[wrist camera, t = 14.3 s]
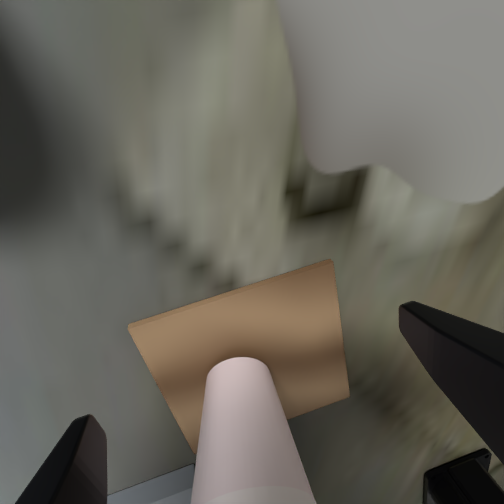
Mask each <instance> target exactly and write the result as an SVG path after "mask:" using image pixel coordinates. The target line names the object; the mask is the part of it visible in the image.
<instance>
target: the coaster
mask: <svg viewBox="0 0 504 504" xmlns="http://www.w3.org/2000/svg"><path fill="white" fill-rule="evenodd" d="M128 331H129V332H130V334H131V336H132V338H133V340H134V342H135V344H136V346H137V347H138V349H139V351H140V353H141V355H142V357H143V359H144V361H145V363H146V364H147V366H148V368H149V370H150V372H151V374H152V376H153V378H154V379H155V381H156V383H157V385H158V387H159V389H160V391H161V393H162V395H163V396H164V398H165V400H166V402H167V404H168V406H169V408H170V410H171V411H172V413H173V415H174V417H175V419H176V421H177V423H178V425H179V427H180V428H181V430H182V432H183V434H184V436H185V438H186V440H187V442H188V444H189V445H190V447H191V449H192V451H193V453H194V454H197V450H198V442H199V434H200V426H201V418H202V411H203V403H204V395H205V387H206V379H207V375H208V373H209V372H210V370H211V369H212V368H213V367H214V366H216V365H217V364H219V363H220V362H222V361H225V360H227V359H231V358H236V357H249V358H254V359H257V360H259V361H261V362H263V363H264V364H265V365H266V366H267V367H268V369H269V371H270V374H271V377H272V380H273V383H274V386H275V388H276V391H277V394H278V397H279V400H280V403H281V405H282V408H283V411H284V414H285V417H286V420H289V419H291V418H294V417H297V416H299V415H302V414H305V413H308V412H310V411H313V410H316V409H318V408H321V407H324V406H327V405H329V404H332V403H335V402H337V401H340V400H343V399H345V398H348V397H350V392H349V384H348V376H347V368H346V360H345V352H344V344H343V336H342V328H341V320H340V312H339V304H338V296H337V288H336V280H335V272H334V264H333V261H332V260H331V259H328V260H325V261H322V262H319V263H316V264H312V265H309V266H306V267H303V268H300V269H297V270H294V271H291V272H288V273H285V274H282V275H279V276H276V277H272V278H269V279H266V280H263V281H260V282H257V283H254V284H251V285H248V286H245V287H242V288H239V289H235V290H232V291H229V292H226V293H223V294H220V295H217V296H214V297H211V298H208V299H205V300H202V301H199V302H195V303H192V304H189V305H186V306H183V307H180V308H177V309H174V310H171V311H168V312H165V313H162V314H159V315H155V316H152V317H149V318H146V319H143V320H140V321H137V322H134V323H131V324H128Z"/></svg>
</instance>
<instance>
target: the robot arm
mask: <svg viewBox="0 0 504 504" xmlns="http://www.w3.org/2000/svg"><path fill="white" fill-rule="evenodd" d="M399 328H400V331H401V333H402V335H403V336H404V338H405V339H406V341H407V342H408V344H409V345H410V347H411V348H412V350H413V351H414V353H415V354H416V356H417V357H418V359H419V360H420V362H421V363H422V365H423V366H424V368H425V369H426V370H427V372H428V373H429V375H430V376H431V378H432V379H433V380H434V381H435V383H436V384H437V385H438V386H439V388H440V389H441V390H442V391H443V392H444V394H445V395H446V396H447V397H448V398H449V400H450V401H451V402H452V403H453V404H454V406H455V407H456V408H457V409H458V410H459V412H460V413H461V414H462V415H463V416H464V418H465V419H466V420H467V421H468V422H469V424H470V425H471V426H472V427H473V428H474V430H475V431H476V432H477V433H478V434H479V436H480V437H481V438H482V439H483V440H484V442H485V443H486V444H487V445H488V446H489V448H490V449H491V450H492V451H493V452H494V454H495V455H496V456H497V457H498V458H499V460H500V461H501V462H502V463H503V464H504V333H502V332H499V331H496V330H493V329H491V328H488V327H485V326H482V325H479V324H477V323H474V322H471V321H468V320H466V319H463V318H460V317H457V316H454V315H452V314H449V313H446V312H443V311H441V310H438V309H435V308H432V307H429V306H427V305H424V304H421V303H418V302H415V301H410V302H407V303H404V304H401V305H400V306H399ZM491 455H492V454H491V453H490V451H489V450H488V449H484V450H481V451H479V452H476V453H474V454H471V455H469V456H466V457H464V458H461V459H459V460H456V461H454V462H451V463H449V464H446V465H444V466H442V467H439V468H437V469H434V470H432V471H429V472H428V473H427V474H426V475H425V489H424V504H504V491H503V490H502V489H501V487H500V486H499V485H498V484H497V483H496V481H495V480H494V479H493V478H492V477H491V475H490V474H489V473H488V469H489V465H490V460H491ZM15 504H107V439H106V434H105V432H104V430H103V429H102V427H101V426H100V425H99V423H98V422H97V420H96V419H95V418H94V416H93V415H91V414H88V415H85V416H82V417H79V418H77V419H75V420H74V421H73V422H72V423H71V424H70V426H69V427H68V429H67V430H66V432H65V433H64V434H63V436H62V437H61V439H60V440H59V442H58V443H57V444H56V446H55V447H54V449H53V450H52V451H51V453H50V454H49V456H48V457H47V459H46V460H45V461H44V463H43V464H42V466H41V467H40V469H39V470H38V471H37V473H36V474H35V476H34V477H33V479H32V480H31V481H30V483H29V484H28V486H27V487H26V488H25V490H24V491H23V493H22V494H21V496H20V497H19V498H18V500H17V501H16V503H15Z"/></svg>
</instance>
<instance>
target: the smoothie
mask: <svg viewBox="0 0 504 504" xmlns="http://www.w3.org/2000/svg"><path fill="white" fill-rule="evenodd" d="M191 504H316V501H315V499H314V496H313V493H312V490H311V488H310V485H309V482H308V479H307V476H306V473H305V471H304V468H303V465H302V462H301V459H300V456H299V454H298V451H297V448H296V445H295V442H294V439H293V437H292V434H291V431H290V428H289V425H288V422H287V420H286V417H285V414H284V411H283V408H282V405H281V403H280V400H279V397H278V394H277V391H276V388H275V386H274V383H273V380H272V377H271V374H270V371H269V369H268V367H267V366H266V365H265V364H264V363H263V362H261V361H259V360H257V359H254V358H249V357H236V358H231V359H227V360H225V361H222V362H220V363H219V364H217V365H216V366H214V367H213V368H212V369H211V370H210V372H209V373H208V375H207V379H206V387H205V395H204V403H203V411H202V418H201V426H200V434H199V442H198V450H197V457H196V465H195V473H194V481H193V489H192V496H191Z"/></svg>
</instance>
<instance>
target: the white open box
mask: <svg viewBox="0 0 504 504" xmlns="http://www.w3.org/2000/svg"><path fill="white" fill-rule="evenodd" d="M194 473H195V466H194V464H191V465H189V466H186V467H183V468H181V469H178V470H175V471H173V472H170V473H167V474H165V475H162V476H159V477H157V478H154V479H151V480H148V481H146V482H143V483H140V484H138V485H135V486H132V487H130V488H127V489H124V490H122V491H119V492H116V493H114V494H111V495H108V496H107V504H191V496H192V489H193V481H194Z"/></svg>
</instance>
